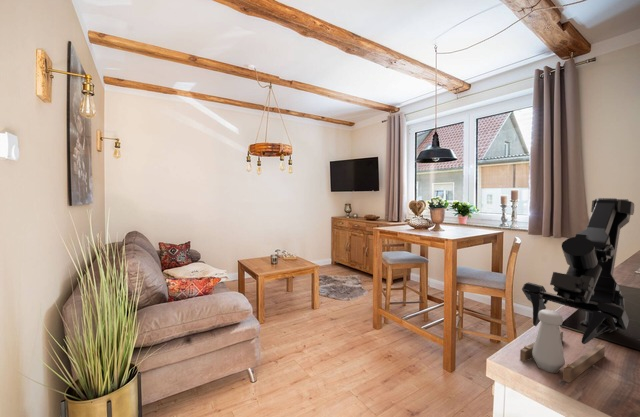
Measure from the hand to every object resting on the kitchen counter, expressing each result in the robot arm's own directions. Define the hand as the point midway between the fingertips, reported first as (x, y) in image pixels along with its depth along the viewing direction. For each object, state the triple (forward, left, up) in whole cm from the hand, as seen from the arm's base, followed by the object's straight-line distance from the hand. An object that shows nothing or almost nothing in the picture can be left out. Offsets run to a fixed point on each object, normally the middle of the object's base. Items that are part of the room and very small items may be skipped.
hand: (557, 333), depth 65 cm
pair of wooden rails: (-4, 0, -7) cm, 8 cm away
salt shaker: (+4, 0, -7) cm, 8 cm away
